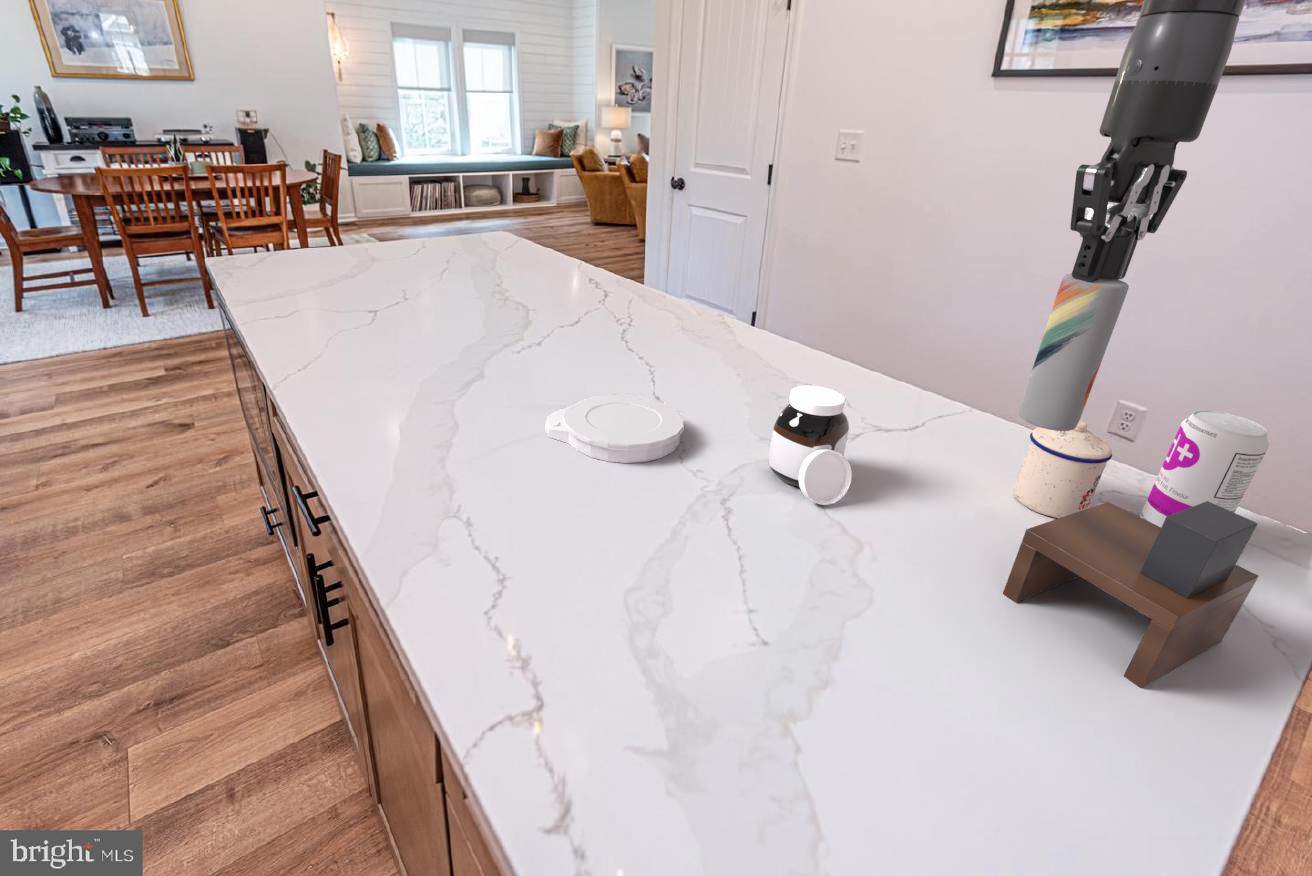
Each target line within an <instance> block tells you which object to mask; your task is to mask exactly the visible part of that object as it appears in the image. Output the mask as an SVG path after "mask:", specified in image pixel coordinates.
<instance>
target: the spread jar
mask: <svg viewBox="0 0 1312 876" xmlns="http://www.w3.org/2000/svg"><path fill="white" fill-rule="evenodd" d="M845 403H846V398H845V396H844V395H843V394H842V393H841V392H838V391H837V390H834V389H832V388H829V387H825V386H820V385H810V384H808V385H807V384H806V385H804V384H803V385H798V386H795V387H792V389H791V390H790V393H789V398H788V404H787V405H786V406H785V407H784V408H783V409H782V411H781V412H780V413H779V415H778V416H777V418H776V420H775V422H774V425H773V429H772V432H771V433H772V434H771V438H770V445H769V451H768V466H769V468H770V470H771V472H772V473H773V474H774V475H775V476H777V477H778V478H779V479H780V480H781V481H783V482H784V483H786V484H787V485H790V486H792V487H795V488H799V489H800V491H801V493H802V495H803V496H804V497H805V498H806V499H807V500H809V501H811V502H813V503H815V504H818V505H821V506H829V505H833V504H836V503H838V502H839V501H840V500H842V499H843V498H844V496H845V495H846V494H847V493H848V491H849V489H850V486H851V483H852V479H853V478H852V477H853V476H852V475H853V471H852V465H851V463H850V462H849V460H848V457H846V456H845V450H846V445H847V441H848V436H849V429H850V423H849V419H848V417H847V416H846V414H845V413H844V407H845Z"/></svg>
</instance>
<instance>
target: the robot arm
mask: <svg viewBox="0 0 1312 876" xmlns="http://www.w3.org/2000/svg"><path fill="white" fill-rule="evenodd" d="M1246 2H1247V0H1143V3H1142V6H1141V9H1140V12H1139V15H1138V18H1137V20H1136V24H1135V26H1134V28H1133V31H1132V33H1131V35H1130V37H1129V39H1128V42H1127V43H1126V46H1125V48H1124V51H1123V54H1122V58H1121V61H1120V63H1119V67H1118V70H1117V73H1116V76H1115V79H1114V83H1113V86H1112V90H1111V93H1110V96H1109V99H1108V101H1107V105H1106V108H1105V111H1104V114H1103V118H1102V121H1101V123H1100V127H1099V134H1100V135H1101V137H1104V138H1110V142H1109V144H1108V146H1107V149H1106V150H1105V151H1104V153H1103V154H1102V156H1101V159H1100V162H1097V163H1095V164H1080V165H1079V167H1078V168H1077V170H1076V172H1075V173H1076V174H1075V183H1074V192H1073V199H1072V209H1071V218H1070V225H1069V226H1070V231H1072V232H1077V233H1078V234H1079V237H1080V238H1082V241H1081V244H1080V246H1079V250H1078V253H1077V256H1076V258H1075V262H1074V265H1073V269H1072V271H1071V273H1072V277H1073V278H1074V279H1078V280H1082V281H1086V282H1093V281H1096V280H1097V279H1098V278H1099V275H1100V272H1101V269H1102V266H1103V263H1104V260H1105V257H1106V255H1107V252H1108V249H1109V246H1110V243H1109V241H1110V240H1111V239H1112V237H1113V235H1114V233H1115V231H1116V229H1117V227H1120V228H1124V229H1126V230H1129V231H1130V232H1131V233H1136V237H1135V240H1134V243H1133V246H1132V248H1131V251H1130V254H1129V257H1128V260H1127V263H1126V266H1125V269H1124V271H1123V274H1122V277H1121V278H1120V279H1118V280H1123V279H1124V278H1125V277H1126V275H1127V273H1128V269H1129V266H1130V264H1131V261H1132V257H1133V256H1134V252H1135V250H1136V248H1137V245H1138V241H1143V239H1144V238H1145V236H1146V234H1155V233H1156V232H1157V231H1158V229H1159V227H1160V226H1161V225H1162V222H1163V220H1164V219H1165V217H1166V215H1167V213H1168V211H1169V209H1170V208H1171V206H1172V204H1173V203H1174V201H1175V199H1176V197H1177V195H1178V193H1179V192H1180V191H1181V188H1182V186H1183V184H1184V183H1185V181H1186V179H1187V177H1188V170H1186V169H1178V168H1175V167H1174V166H1173V165H1174V164H1175V163H1174V162H1175V155H1176V151H1177V150H1176V149H1177V145H1178V144H1179V143H1192V142H1194V141H1196V140H1197V139H1198V138H1199V137H1200V134H1201V132H1202V129H1203V128H1204V124H1205V121H1206V118H1207V117H1208V113H1209V111H1210V108H1211V105H1212V103H1213V101H1214V97H1215V96H1216V93H1217V90H1218V87H1219V84H1220V82H1221V78H1222V76H1223V73H1224V72H1225V71H1224V70H1225V69H1226V66H1227V63H1228V61H1229V58H1230V54H1231V51H1232V49H1233V44H1234V41H1235V37H1236V32H1237V27H1238V24H1239V21H1240V17H1241V16H1242V14H1243V10H1244V7H1245V5H1246ZM1086 209H1087V211H1088V213H1087V215H1086ZM1107 216H1108V219H1107Z"/></svg>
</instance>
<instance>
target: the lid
mask: <svg viewBox="0 0 1312 876" xmlns="http://www.w3.org/2000/svg"><path fill="white" fill-rule="evenodd" d="M684 428H685V419H684V417H683V415H682V414H681V413H680V411H679V410H677V409H676V408H675V407H673V406H672V405H670V404H668V403H665V402H663V401H660V400H658V399H655V398H651V397H646V396H641V395H635V394H621V393H620V394H619V393H616V394H600V395H595V396H589V397H586V398H584V399H583V398H582V399H581V400H578V401H576V402H573V404H571V405H570V406H566V407H564V408H560V409H558V410H555V411H553V412H552V413H550V414H549V415H548V416H547V417H546V420H545V429H544V430H545V432H546V434H547V436H548V438H550V439H553V440H556V441H559V442H562V443H566V444H569V445H570V446H571V447H572V448H573V449H575V450H576V452H578V453H581V454H582V455H585V456H587V457H589V458H591V459H596V460H600V461H604V462H608V463H618V464H619V463H620V464H633V463H634V464H635V463H646V462H651V461H655V460H658V459H659V460H660V459H662V458H664V457H666V456H667V455H670V454H672V453H673V452H674V451H675V450H676V449H677V447H679V445H680V442H681V441H680V439H681V434H682V433H683V432H684V431H685V430H684Z"/></svg>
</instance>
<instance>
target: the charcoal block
mask: <svg viewBox="0 0 1312 876" xmlns="http://www.w3.org/2000/svg"><path fill="white" fill-rule="evenodd" d="M1257 526H1258V522H1257V521H1254V520H1251V519H1249V518H1247V517H1245V516H1242V515H1240V514H1238V513H1236V512H1235V513H1233V512H1231V511H1229V510H1227V509H1224V508H1222V507H1220V506H1218V505H1215V504H1213V503H1211V502H1208V501H1206V502H1204V503H1201V504H1198V505H1196V506H1193V507H1191V508H1188V509H1185V510H1183V511H1180V512H1178V513H1175V514H1172V515H1170V516H1167V517H1166V519H1165V521H1164V523H1163V525H1162V527H1161V529H1160V531H1159V534H1158V536H1157V538H1156V540H1155V542H1154V544H1153V546H1152V548H1151V551H1150V553H1149V555H1148V557H1147V559H1146V561H1145V563H1144V565H1143V568H1142V570H1141V573H1142V574H1144V575H1146V576H1148V577H1149V578H1151V579H1153V580H1155V581H1157V582H1158V583H1160V584H1162V585H1164V586H1166V587H1168V588H1169V589H1171V590H1173V591H1175V592H1177V593H1178V594H1180V595H1182V596H1184V597H1186V598H1190V597H1192V596H1194V595H1196V594H1198V593H1200V592H1202V591H1204V590H1206V589H1208V588H1210V587H1212V586H1214V585H1216V584H1218V583H1220V582H1222V581H1224V580H1226V579H1228V578H1229V576H1230V574H1231V572H1232V570H1233V568H1234V567H1235V565H1237V563H1238V562H1239V559H1240V557H1241V555H1242V553H1243V552H1244V550H1245V548H1246V546H1247V545H1248V543H1249V540H1250V539H1251V537H1252V535H1253V534H1254V532H1255V530H1256V528H1257Z"/></svg>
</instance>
